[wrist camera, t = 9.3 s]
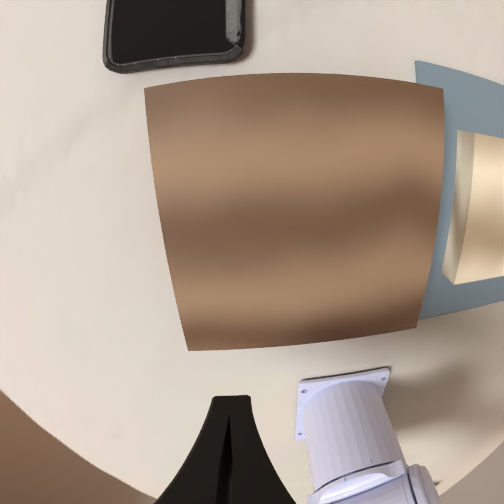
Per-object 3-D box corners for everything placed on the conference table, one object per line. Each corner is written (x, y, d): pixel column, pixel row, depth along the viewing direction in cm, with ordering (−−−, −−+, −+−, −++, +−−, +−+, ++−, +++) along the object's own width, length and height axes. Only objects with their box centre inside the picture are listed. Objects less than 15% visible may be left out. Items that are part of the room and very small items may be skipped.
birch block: (453, 284, 17) (441, 272, 19) (506, 275, 17) (493, 264, 19) (474, 132, 13) (457, 129, 15) (528, 144, 13) (511, 140, 15)
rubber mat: (506, 296, 21) (508, 298, 20) (396, 319, 21) (398, 322, 20) (534, 99, 13) (537, 100, 13) (414, 61, 13) (418, 60, 13)
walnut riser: (395, 298, 20) (415, 327, 17) (195, 315, 20) (188, 350, 17) (410, 91, 14) (443, 88, 11) (164, 94, 14) (144, 88, 11)
